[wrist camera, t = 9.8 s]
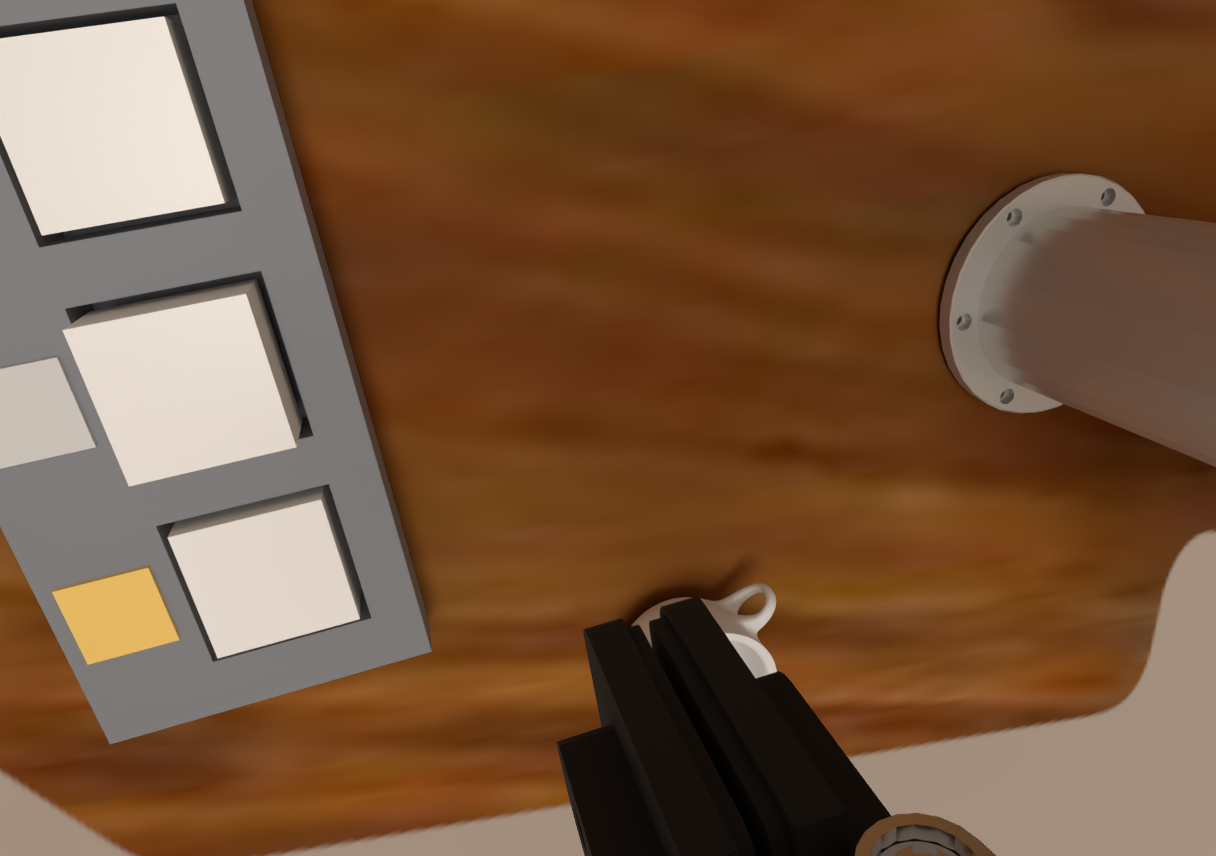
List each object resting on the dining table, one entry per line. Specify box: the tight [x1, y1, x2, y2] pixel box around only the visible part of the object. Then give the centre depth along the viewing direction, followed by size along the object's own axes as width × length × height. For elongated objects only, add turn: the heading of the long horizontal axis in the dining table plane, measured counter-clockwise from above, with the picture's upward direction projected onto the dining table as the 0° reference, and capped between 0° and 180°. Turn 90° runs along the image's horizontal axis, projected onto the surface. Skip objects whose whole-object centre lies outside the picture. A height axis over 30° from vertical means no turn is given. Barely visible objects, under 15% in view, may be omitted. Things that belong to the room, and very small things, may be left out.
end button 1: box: [167, 484, 361, 658], centre depth 36 cm, size 6×6×3 cm
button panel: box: [0, 0, 432, 744], centre depth 32 cm, size 14×30×3 cm, turn 9°
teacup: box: [632, 583, 777, 678], centre depth 43 cm, size 10×8×5 cm
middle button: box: [62, 279, 302, 487], centre depth 31 cm, size 6×6×3 cm
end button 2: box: [0, 16, 237, 235], centre depth 29 cm, size 6×6×3 cm
